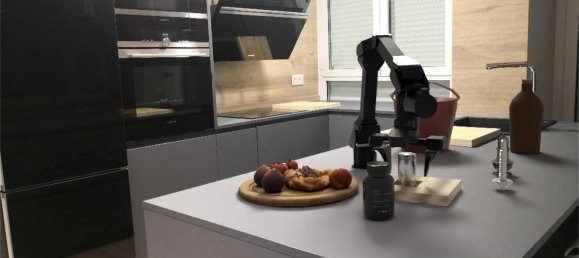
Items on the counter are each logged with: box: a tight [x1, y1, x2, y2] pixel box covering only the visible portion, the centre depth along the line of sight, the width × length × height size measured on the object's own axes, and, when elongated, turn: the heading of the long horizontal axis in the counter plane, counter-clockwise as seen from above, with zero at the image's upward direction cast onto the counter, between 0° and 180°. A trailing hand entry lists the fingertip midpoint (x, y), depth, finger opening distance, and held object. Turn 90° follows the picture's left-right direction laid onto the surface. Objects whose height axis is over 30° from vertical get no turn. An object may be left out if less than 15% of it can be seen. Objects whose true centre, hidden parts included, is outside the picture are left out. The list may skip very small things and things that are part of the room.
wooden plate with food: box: [238, 158, 360, 207], centre depth 131 cm, size 32×32×8 cm
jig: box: [390, 173, 462, 207], centre depth 123 cm, size 18×16×2 cm
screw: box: [491, 139, 514, 192], centre depth 124 cm, size 13×5×5 cm
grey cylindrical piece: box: [397, 151, 417, 187], centre depth 124 cm, size 5×5×10 cm
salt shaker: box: [491, 132, 515, 177], centre depth 139 cm, size 6×6×12 cm
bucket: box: [389, 80, 461, 155], centre depth 179 cm, size 24×22×25 cm
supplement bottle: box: [362, 160, 396, 222], centre depth 106 cm, size 7×7×12 cm
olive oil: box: [508, 78, 545, 155], centre depth 168 cm, size 11×11×25 cm
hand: (407, 175), depth 124 cm, fingers open, 9 cm apart
